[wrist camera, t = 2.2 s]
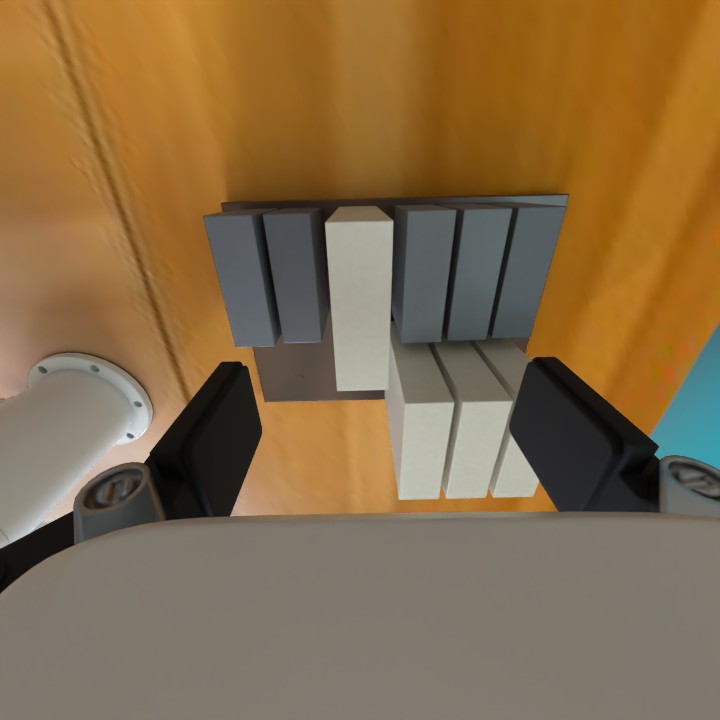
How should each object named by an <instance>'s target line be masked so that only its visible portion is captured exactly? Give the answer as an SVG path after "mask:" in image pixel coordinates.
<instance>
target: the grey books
mask: <svg viewBox="0 0 720 720" xmlns="http://www.w3.org/2000/svg"><path fill="white" fill-rule="evenodd" d="M565 211H566V206H557V205H545V204H533V203H521V202H508V203H482V204H476V203H469V204H439V205H438V206H436V205H432V204H429V205H396V206H395V221H394V253H393V285H392V313H393V317H394V320H395V323H396V327H397V330H398V334H399V337H400V341H401V343H429V342H441V335H442V333H443V335H444V337H445V338H446V340H447V341H460V340H486V337H487V334H488V335H489V336H490V337H491V338H515V337H530V336H531V332H532V328H533V325H534V321H535V318H536V314H537V311H538V307H539V304H540V300H541V296H542V293H543V289H544V286H545V282H546V279H547V275H548V272H549V268H550V264H551V261H552V257H553V254H554V250H555V247H556V243H557V240H558V236H559V232H560V229H561V225H562V222H563V218H564V215H565ZM203 219H204V223H205V227H206V231H207V235H208V239H209V243H210V247H211V251H212V255H213V259H214V263H215V267H216V271H217V275H218V279H219V283H220V287H221V291H222V295H223V299H224V302H225V306H226V310H227V314H228V318H229V322H230V326H231V330H232V334H233V338H234V342H235V346H236V347H265V346H275V345H276V343H277V341H278V339H279V337H280V335H281V333H282V337H283V342H284V343H307V342H322V340H323V335H324V331H325V326H326V322H327V317H328V313H329V310H328V297H327V284H326V271H325V258H324V245H323V232H322V219H321V208H320V207H309V208H283V209H279V210H277V208H269V209H239V210H234V211H228V212H222V213H217V214H211V215H205V216H203Z"/></svg>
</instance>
